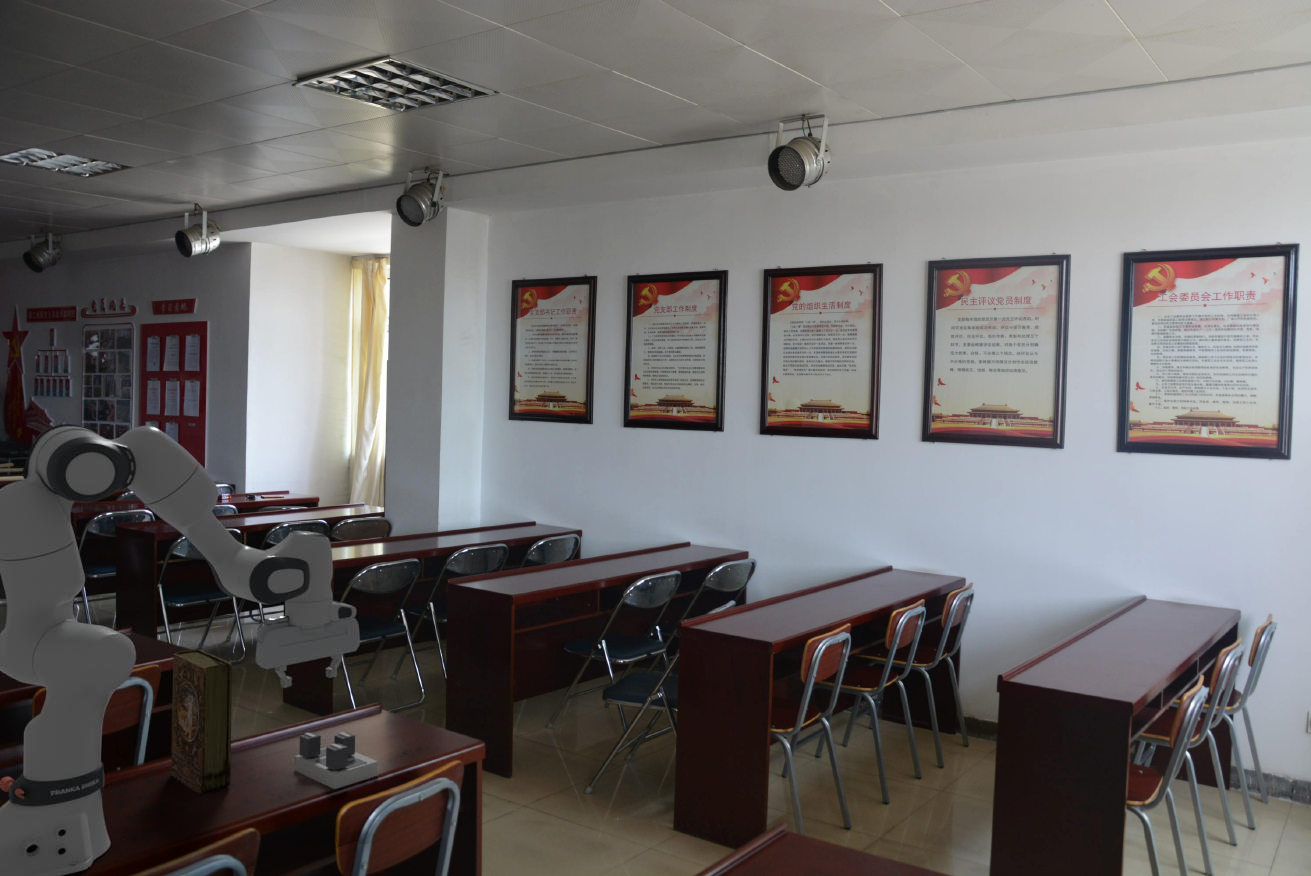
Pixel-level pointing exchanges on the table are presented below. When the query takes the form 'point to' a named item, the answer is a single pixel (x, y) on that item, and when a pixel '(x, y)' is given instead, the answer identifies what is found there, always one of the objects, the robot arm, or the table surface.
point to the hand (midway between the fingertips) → (309, 681)
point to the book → (201, 720)
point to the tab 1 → (310, 745)
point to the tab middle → (346, 741)
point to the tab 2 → (336, 756)
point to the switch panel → (354, 772)
